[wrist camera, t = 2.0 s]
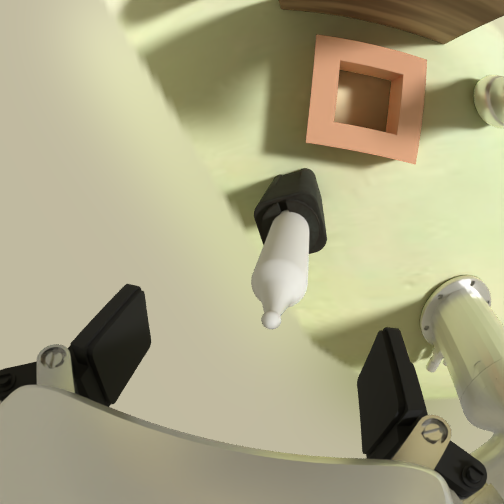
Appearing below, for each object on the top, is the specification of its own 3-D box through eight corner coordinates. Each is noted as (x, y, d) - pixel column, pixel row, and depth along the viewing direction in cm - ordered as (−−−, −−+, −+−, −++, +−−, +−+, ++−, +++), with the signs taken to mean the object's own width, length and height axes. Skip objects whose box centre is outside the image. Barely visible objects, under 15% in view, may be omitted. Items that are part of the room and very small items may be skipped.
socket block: (401, 158, 30) (415, 164, 26) (306, 140, 32) (305, 142, 27) (412, 67, 26) (426, 59, 21) (315, 46, 27) (316, 34, 23)
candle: (283, 217, 36) (235, 372, 14) (270, 177, 35) (192, 285, 12) (323, 207, 35) (340, 359, 12) (312, 165, 33) (316, 258, 11)
